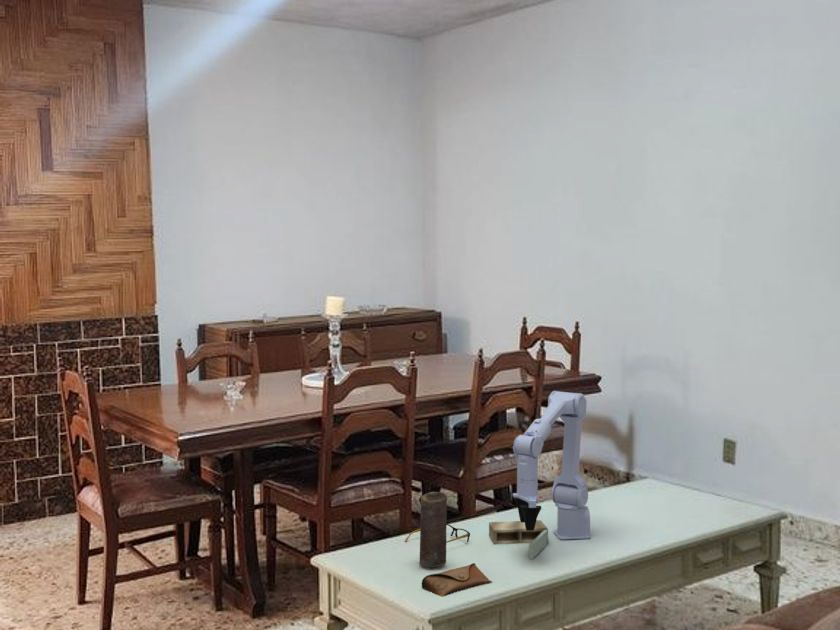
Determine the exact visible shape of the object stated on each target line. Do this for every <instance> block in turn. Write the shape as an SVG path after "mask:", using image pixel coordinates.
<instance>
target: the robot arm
mask: <svg viewBox="0 0 840 630" xmlns="http://www.w3.org/2000/svg"><path fill="white" fill-rule="evenodd" d="M586 416H587V399H586V397H585V395H584V394H583V393H582V392H580V393H577V392H567V391H558V390H553V391H552V392H551V393H550V394H549V396H548V399H547V407H546V409H545V410H544V412H543V414H542V415H541V417H540V418H536V419H534V420H533V422H532V423H531V424H530V425H529V427H528V428H527V429H526V431H525V432H524V433H523V434H519V435H518V436H516V437H515V438H514V441H513V446H512V452H513V453H514V460H515V462H516V465H517V466H516V493H515V492H513V493H512V497H513V499H514V501H515V504H516V507H517V511H518V517H519V521H521V522H525V527H526V530H527V531H533V530H534V528H535V524H536V520H538V519H537V518H538V517H539V514H540V512H541V510H542V506H541V505H537V501H538V498H539V493H538V492H539V491H538V490H539V489H538V487H539V486H538V485H539V484H538V483H539V482H538V480H539V477H538V476H539V474H538V473H539V471H538V470H539V466H538V465H539V461H538V460H539V457H540V455H541V454H542V451H543V447H544V445H545V444H544V442H545V441H546V439H547V438H548V437H549V436H550V435H551V432H552V426H553V424H554V423H555V422H556V421H557V420H558V419H559V418H561V420H562V422H563V423H564V425H563V445H562V461H561V462H562V463H561V474H560V475H558V476H557V477H555V478H554V480H553V485H552V489H551V493H550V494H551V495H550V496H551V500H552V502H553V503H554V504H555V506H554V507H556V508H557V517H556V518H557V519H556V520H557V523H556V526H557V527H556V528H557V529H554V530H553V533H554V534H555V535H556V538H558V539H559V540H561V541H562V540H564V541H565V540H585V539H591V513H590V509H589V507H588V506H586V505H587V502H588V500H589V491H588V483H587V481H586V480H585V479H584V478H583V477H582V476H581V475H580V471H579V469H580V459H581V458H580V455H581V439H582V438H581V437H582V421H583V420H586Z"/></svg>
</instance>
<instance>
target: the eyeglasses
mask: <svg viewBox="0 0 840 630" xmlns="http://www.w3.org/2000/svg"><path fill="white" fill-rule="evenodd" d="M446 526H448V527H450V528H451V529H452V531H451V533H450V536H452V537H453V536H454V535H455V536H454V537H455V538H451V539H448V540H446V544H447V543H451V542H454V541H457V539H459V540H460V539H464V538H467V540H466V542H468V543H469V540H470V537H471V533H470V532H469V531H468V530H466V529H464V528H456V527H454V526H453V525H451V524H449V523H446ZM459 530H460V531H463V532H465V534H462V535H460V536H458V531H459ZM416 532H420V528H417V529H415V530H413V531H411V533H409V534H408V536H407V537H406V539H405V540H404V542H405V543H407V541H408V540H409V538H410V537H411V536H412V535H413V534H414V533H416ZM404 542H403V543H404Z"/></svg>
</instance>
